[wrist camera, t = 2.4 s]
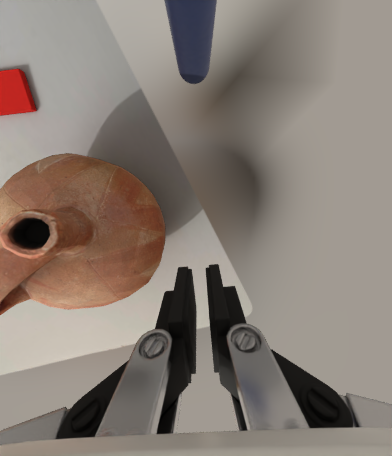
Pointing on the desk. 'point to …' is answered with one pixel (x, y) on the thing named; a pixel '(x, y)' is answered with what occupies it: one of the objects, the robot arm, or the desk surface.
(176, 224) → the desk surface
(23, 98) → the spatula
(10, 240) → the jug
